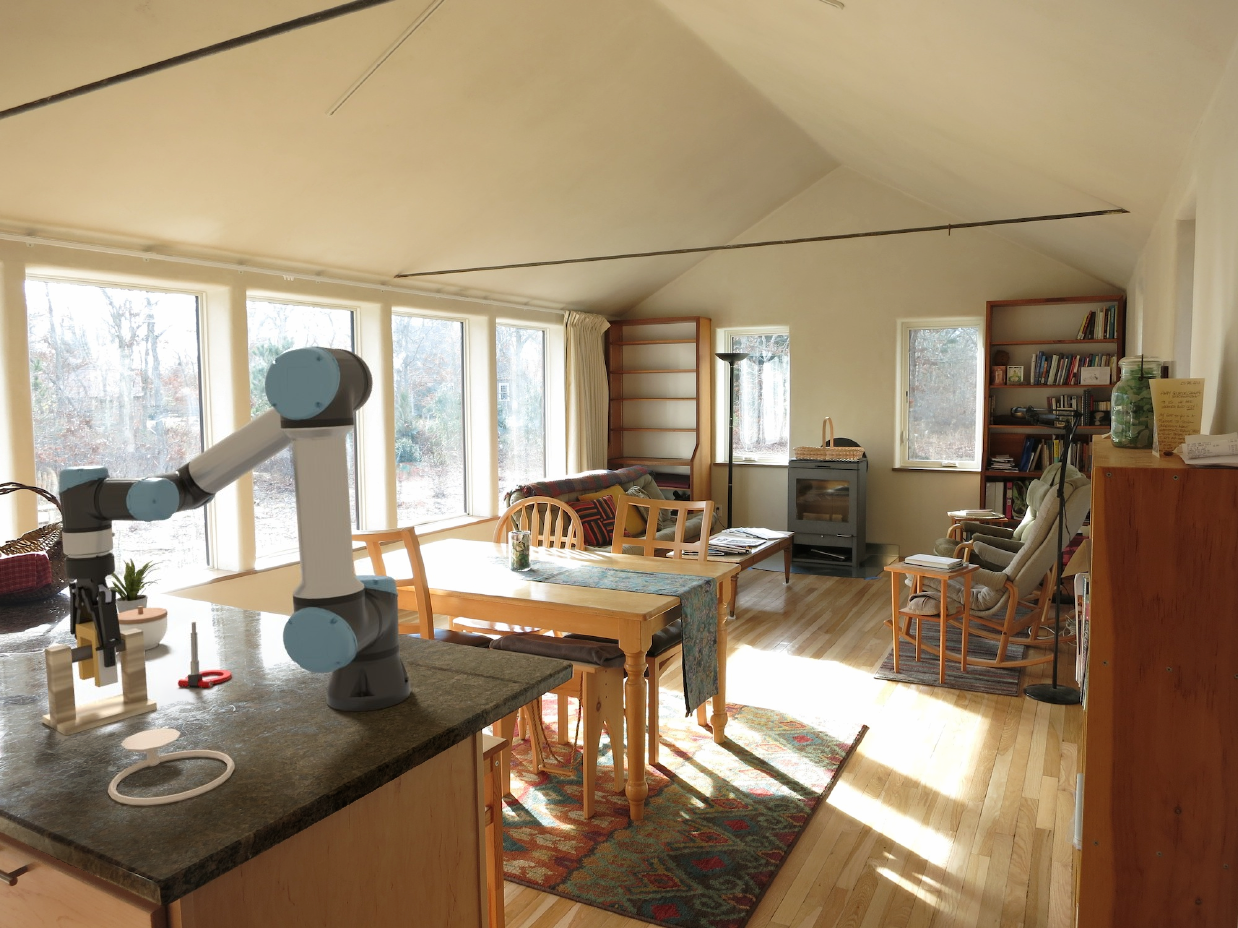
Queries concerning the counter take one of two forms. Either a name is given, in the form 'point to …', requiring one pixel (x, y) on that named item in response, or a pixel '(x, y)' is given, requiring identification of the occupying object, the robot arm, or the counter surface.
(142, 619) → the lidded jar
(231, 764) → the hand towel holder
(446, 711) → the counter surface
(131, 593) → the house plant
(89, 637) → the yellow u-shaped bracket
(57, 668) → the wooden crossbar stand
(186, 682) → the tow hook
